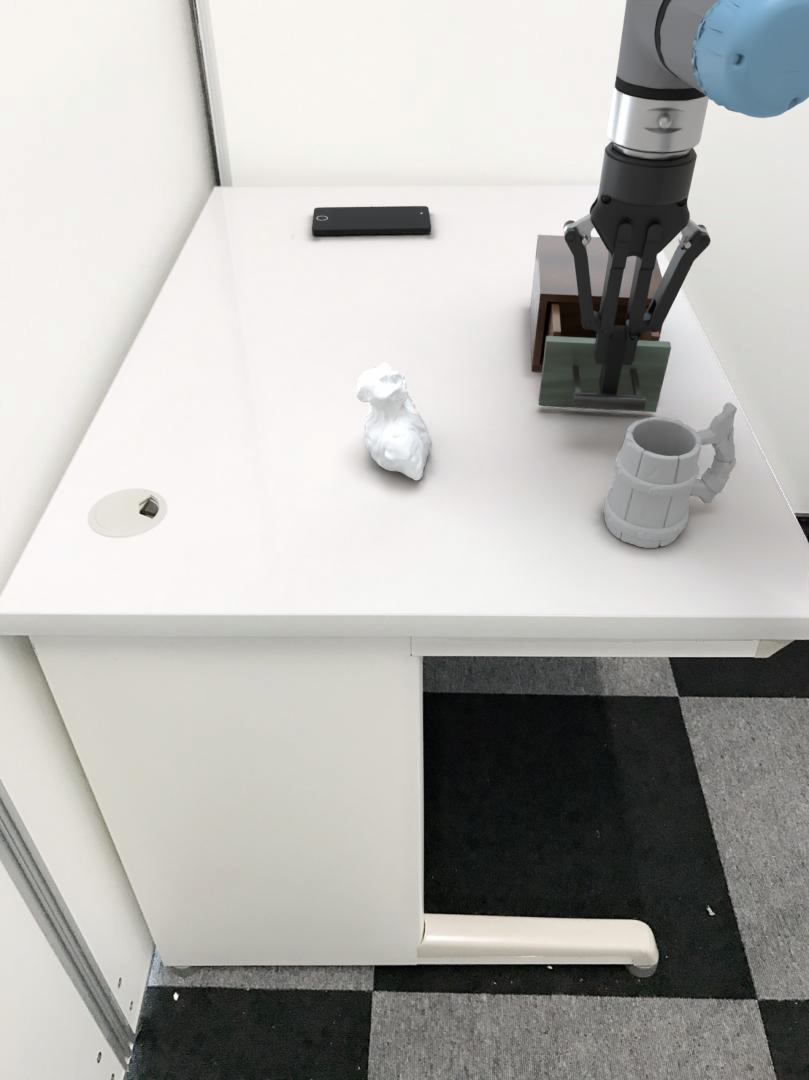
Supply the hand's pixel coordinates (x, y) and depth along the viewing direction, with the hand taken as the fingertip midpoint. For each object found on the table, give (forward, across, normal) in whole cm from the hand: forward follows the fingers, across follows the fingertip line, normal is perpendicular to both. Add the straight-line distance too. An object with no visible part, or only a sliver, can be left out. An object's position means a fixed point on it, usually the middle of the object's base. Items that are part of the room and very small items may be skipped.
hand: (607, 390), depth 86 cm
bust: (+6, -21, -6) cm, 23 cm away
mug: (+6, +5, -13) cm, 15 cm away
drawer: (+5, 0, +8) cm, 9 cm away
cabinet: (+6, 0, +20) cm, 21 cm away
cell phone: (+5, -31, +53) cm, 62 cm away
